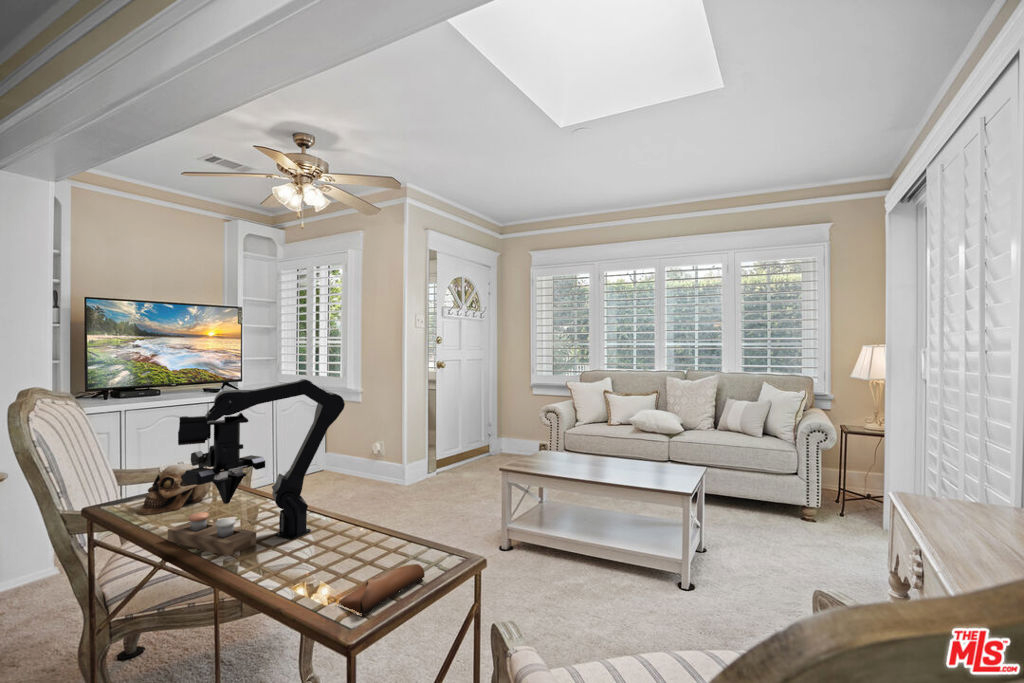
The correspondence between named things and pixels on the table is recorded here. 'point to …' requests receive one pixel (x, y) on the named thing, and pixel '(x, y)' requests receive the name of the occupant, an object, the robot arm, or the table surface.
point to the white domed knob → (225, 527)
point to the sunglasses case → (382, 588)
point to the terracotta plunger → (198, 521)
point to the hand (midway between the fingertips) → (226, 503)
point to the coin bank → (173, 491)
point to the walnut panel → (212, 539)
